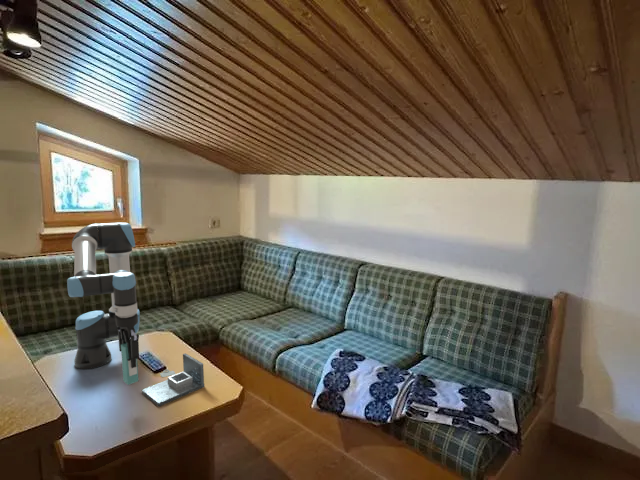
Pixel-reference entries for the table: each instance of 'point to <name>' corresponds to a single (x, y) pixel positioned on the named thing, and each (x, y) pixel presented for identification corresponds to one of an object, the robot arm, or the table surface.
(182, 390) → the cup bracket
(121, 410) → the table surface
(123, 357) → the teal block
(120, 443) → the table surface
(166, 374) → the mounting bracket
